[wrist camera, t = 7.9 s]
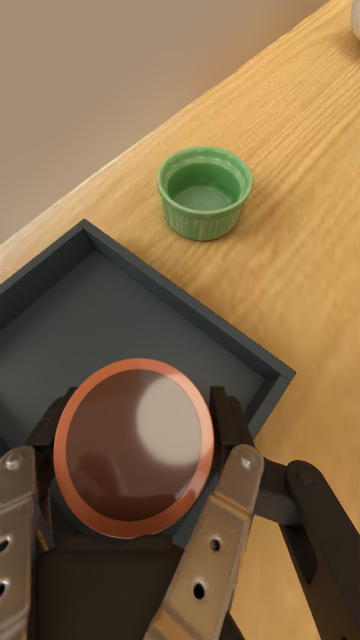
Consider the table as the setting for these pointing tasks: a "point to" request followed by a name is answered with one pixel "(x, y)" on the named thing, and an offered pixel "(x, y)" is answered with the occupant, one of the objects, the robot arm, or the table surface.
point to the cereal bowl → (355, 18)
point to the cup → (133, 448)
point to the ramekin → (203, 191)
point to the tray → (116, 346)
